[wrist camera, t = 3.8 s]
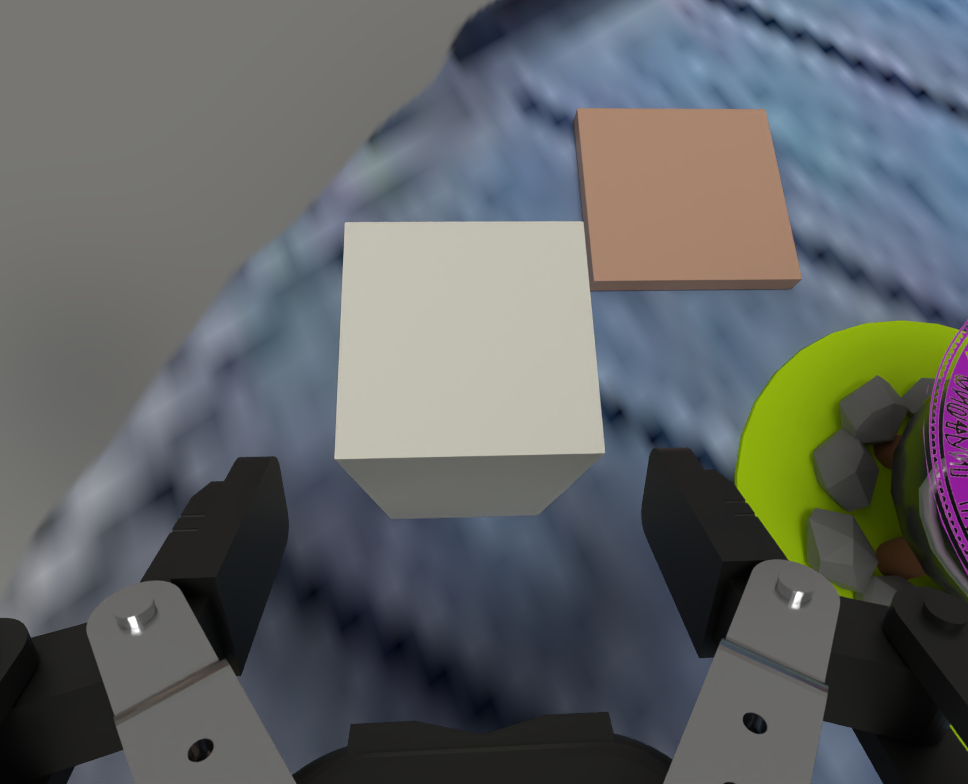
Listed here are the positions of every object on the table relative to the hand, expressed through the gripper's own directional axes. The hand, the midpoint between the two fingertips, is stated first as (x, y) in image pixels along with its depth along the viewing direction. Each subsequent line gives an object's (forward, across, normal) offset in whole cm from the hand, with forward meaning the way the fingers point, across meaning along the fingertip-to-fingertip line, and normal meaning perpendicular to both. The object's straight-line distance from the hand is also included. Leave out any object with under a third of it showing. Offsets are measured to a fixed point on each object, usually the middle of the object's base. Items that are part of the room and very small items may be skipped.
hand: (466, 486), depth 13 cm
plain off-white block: (+8, 0, +4) cm, 8 cm away
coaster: (+14, -9, -4) cm, 17 cm away
